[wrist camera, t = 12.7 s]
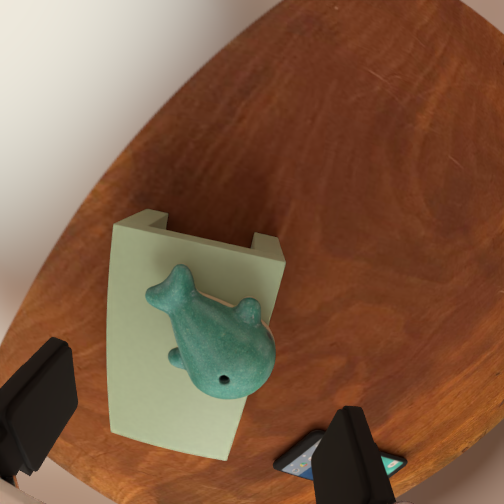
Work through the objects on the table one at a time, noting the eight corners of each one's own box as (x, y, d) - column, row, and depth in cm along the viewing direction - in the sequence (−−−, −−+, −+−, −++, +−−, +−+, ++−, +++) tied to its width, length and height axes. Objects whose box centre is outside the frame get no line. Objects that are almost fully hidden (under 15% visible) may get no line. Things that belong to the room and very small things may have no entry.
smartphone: (316, 431, 25) (410, 462, 27) (315, 425, 25) (408, 458, 28) (269, 468, 26) (367, 494, 28) (269, 463, 27) (366, 489, 29)
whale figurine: (215, 388, 18) (208, 432, 14) (130, 297, 16) (102, 331, 13) (297, 340, 17) (307, 383, 13) (213, 233, 15) (200, 255, 12)
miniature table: (146, 208, 21) (113, 223, 15) (278, 237, 21) (286, 262, 16) (130, 389, 25) (110, 431, 19) (230, 414, 25) (226, 461, 20)
